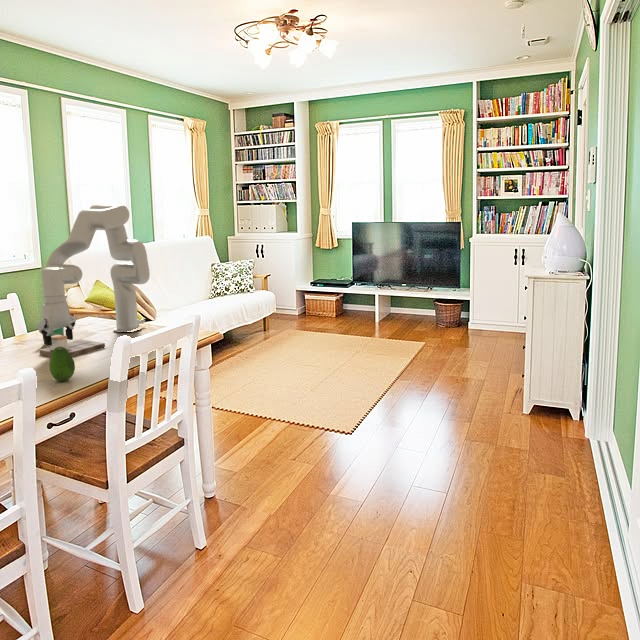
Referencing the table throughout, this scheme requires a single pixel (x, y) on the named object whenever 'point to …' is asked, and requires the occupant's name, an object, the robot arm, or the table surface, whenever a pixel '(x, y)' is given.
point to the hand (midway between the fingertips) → (59, 342)
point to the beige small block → (58, 341)
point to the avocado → (61, 364)
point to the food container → (56, 332)
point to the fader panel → (77, 347)
